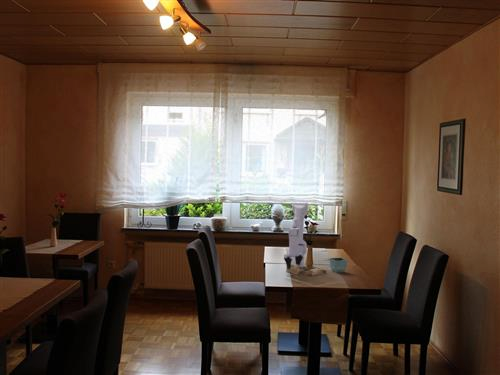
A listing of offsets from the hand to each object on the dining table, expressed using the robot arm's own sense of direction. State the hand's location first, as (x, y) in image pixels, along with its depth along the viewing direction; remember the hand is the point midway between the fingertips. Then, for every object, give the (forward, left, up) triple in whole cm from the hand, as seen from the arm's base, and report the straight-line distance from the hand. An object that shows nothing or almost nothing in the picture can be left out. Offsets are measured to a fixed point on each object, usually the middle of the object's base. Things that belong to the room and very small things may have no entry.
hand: (293, 268), depth 300 cm
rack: (+5, +10, -4) cm, 12 cm away
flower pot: (+12, +28, -4) cm, 31 cm away
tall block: (0, 0, -3) cm, 3 cm away
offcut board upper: (+9, +11, -2) cm, 14 cm away
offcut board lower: (+9, +10, -3) cm, 14 cm away
